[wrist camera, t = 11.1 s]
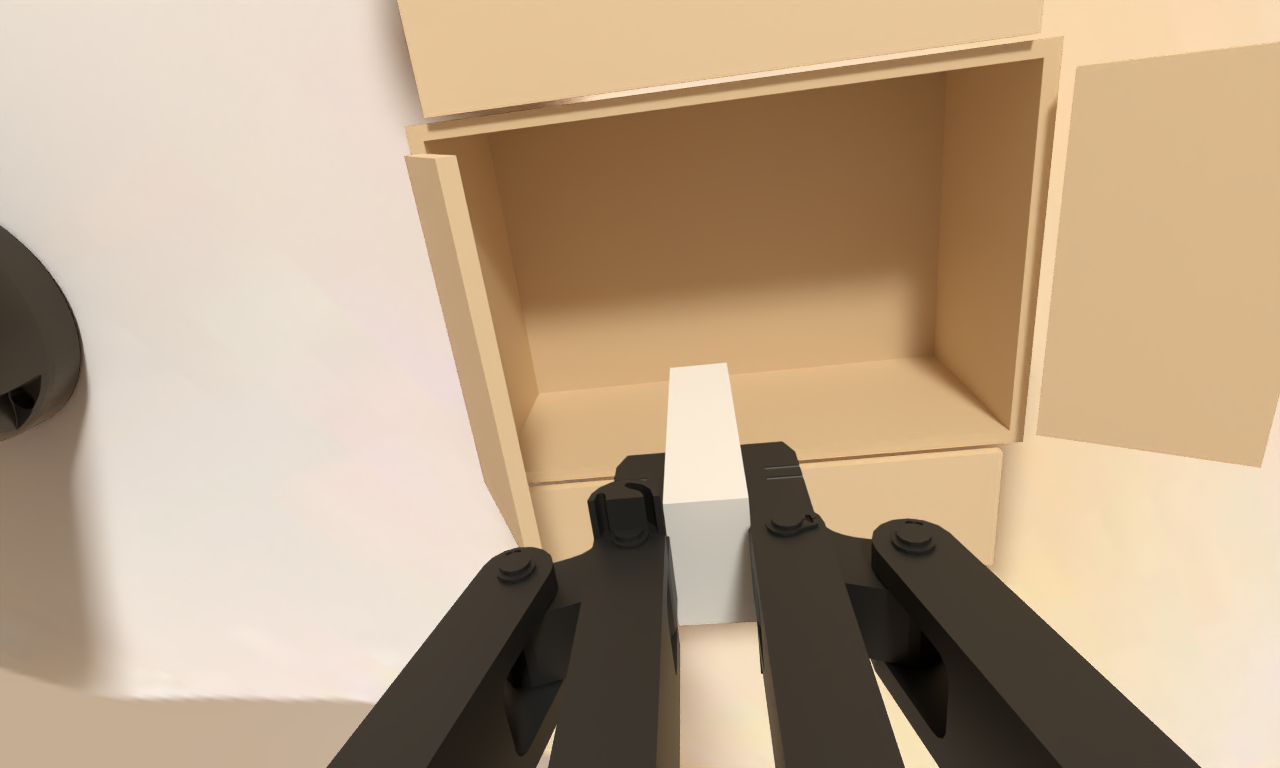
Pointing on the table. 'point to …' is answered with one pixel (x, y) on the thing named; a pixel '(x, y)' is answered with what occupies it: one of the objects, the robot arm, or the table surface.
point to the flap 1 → (472, 337)
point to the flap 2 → (1169, 258)
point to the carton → (755, 234)
